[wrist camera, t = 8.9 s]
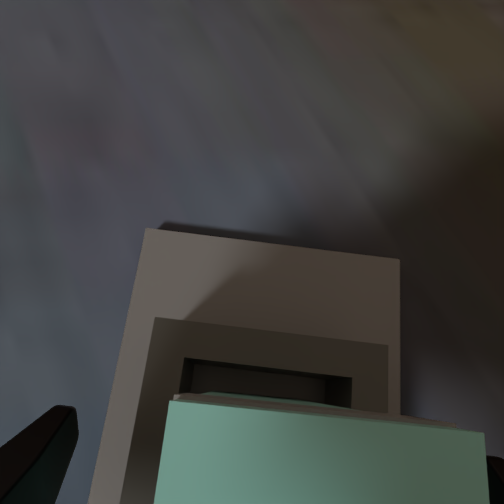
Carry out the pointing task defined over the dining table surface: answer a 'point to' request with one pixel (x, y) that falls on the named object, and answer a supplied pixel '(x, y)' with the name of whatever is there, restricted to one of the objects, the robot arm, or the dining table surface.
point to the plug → (312, 455)
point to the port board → (244, 340)
